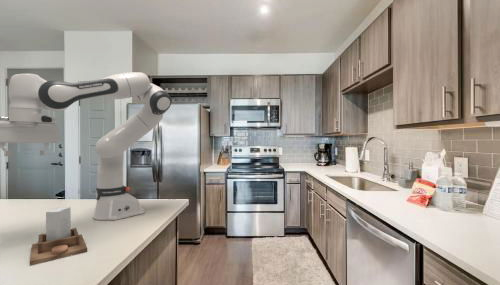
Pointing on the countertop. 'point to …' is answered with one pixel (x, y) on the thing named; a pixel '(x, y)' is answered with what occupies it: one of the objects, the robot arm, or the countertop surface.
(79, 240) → the organiser tray
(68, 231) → the skincare box
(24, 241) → the countertop surface
